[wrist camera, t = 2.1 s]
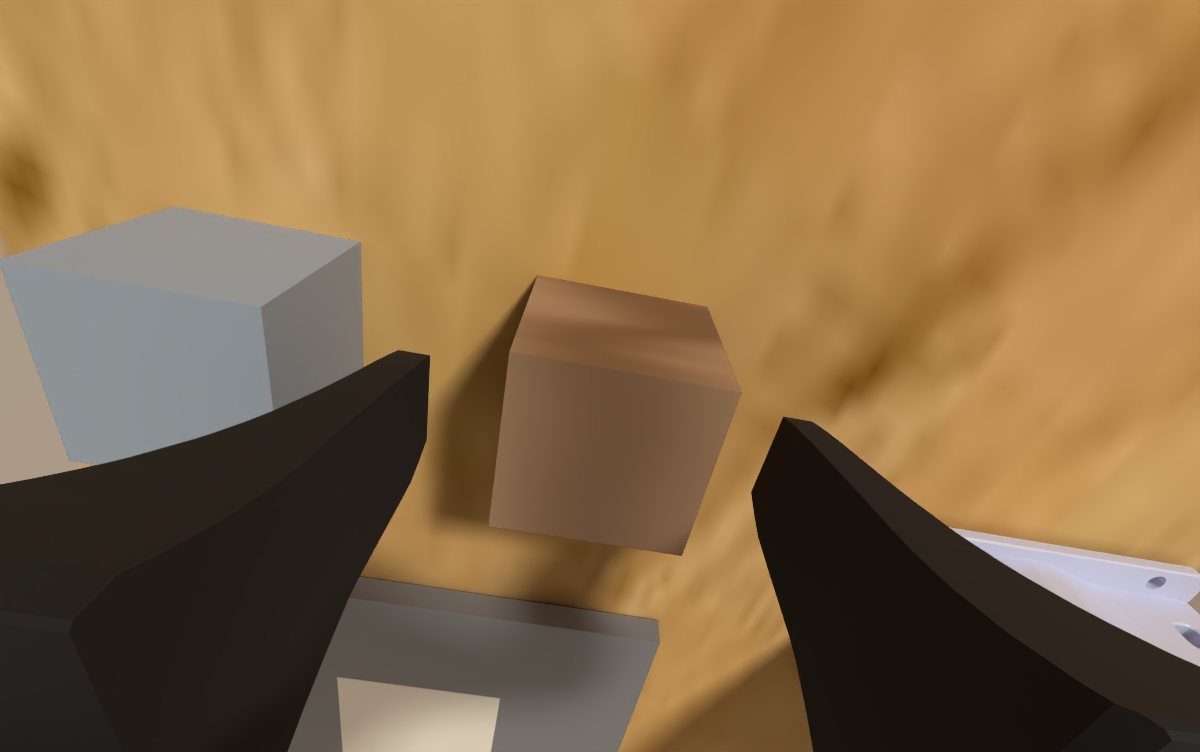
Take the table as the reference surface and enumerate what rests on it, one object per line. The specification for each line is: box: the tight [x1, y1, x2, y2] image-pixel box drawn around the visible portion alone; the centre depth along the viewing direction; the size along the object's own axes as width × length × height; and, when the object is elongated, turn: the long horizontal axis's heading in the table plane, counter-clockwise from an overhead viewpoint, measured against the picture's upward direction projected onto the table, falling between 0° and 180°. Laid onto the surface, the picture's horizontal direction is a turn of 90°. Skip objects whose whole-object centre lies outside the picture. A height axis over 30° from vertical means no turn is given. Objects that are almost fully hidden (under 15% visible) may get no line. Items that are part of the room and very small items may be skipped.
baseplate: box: [288, 577, 660, 752], centre depth 21 cm, size 13×16×1 cm
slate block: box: [0, 206, 364, 465], centre depth 11 cm, size 4×4×4 cm
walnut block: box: [489, 275, 742, 556], centre depth 12 cm, size 4×4×4 cm
